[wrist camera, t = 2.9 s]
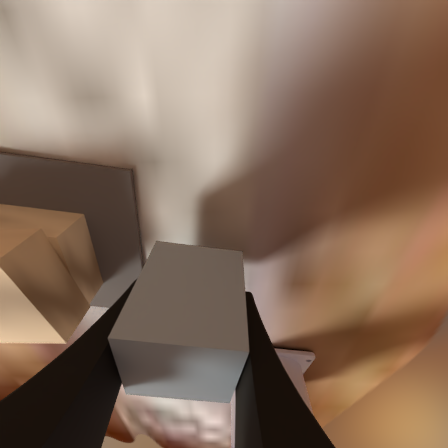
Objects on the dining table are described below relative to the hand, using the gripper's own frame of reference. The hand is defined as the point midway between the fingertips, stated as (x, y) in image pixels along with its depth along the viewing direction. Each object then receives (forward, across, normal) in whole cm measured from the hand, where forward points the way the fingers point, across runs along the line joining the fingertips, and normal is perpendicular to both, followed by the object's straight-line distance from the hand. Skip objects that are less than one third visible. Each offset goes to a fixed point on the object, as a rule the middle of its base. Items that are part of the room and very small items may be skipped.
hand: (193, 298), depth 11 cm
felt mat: (+4, +10, +1) cm, 11 cm away
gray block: (+2, 0, 0) cm, 2 cm away
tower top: (+1, +10, +1) cm, 10 cm away
